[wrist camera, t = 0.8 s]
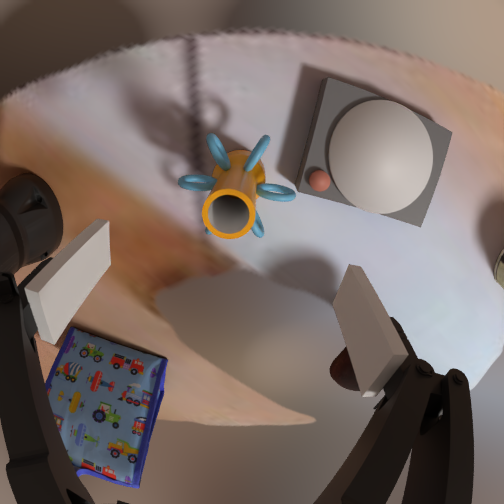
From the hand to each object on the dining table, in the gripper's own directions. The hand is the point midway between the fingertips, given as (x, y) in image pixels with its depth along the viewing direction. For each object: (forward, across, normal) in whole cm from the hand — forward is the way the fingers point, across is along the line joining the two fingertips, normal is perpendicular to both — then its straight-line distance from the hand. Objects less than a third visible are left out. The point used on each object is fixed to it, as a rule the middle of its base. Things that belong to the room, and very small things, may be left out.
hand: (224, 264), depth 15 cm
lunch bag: (+23, -19, -42) cm, 51 cm away
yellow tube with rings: (+22, 0, 0) cm, 23 cm away
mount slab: (+22, +16, +7) cm, 28 cm away
